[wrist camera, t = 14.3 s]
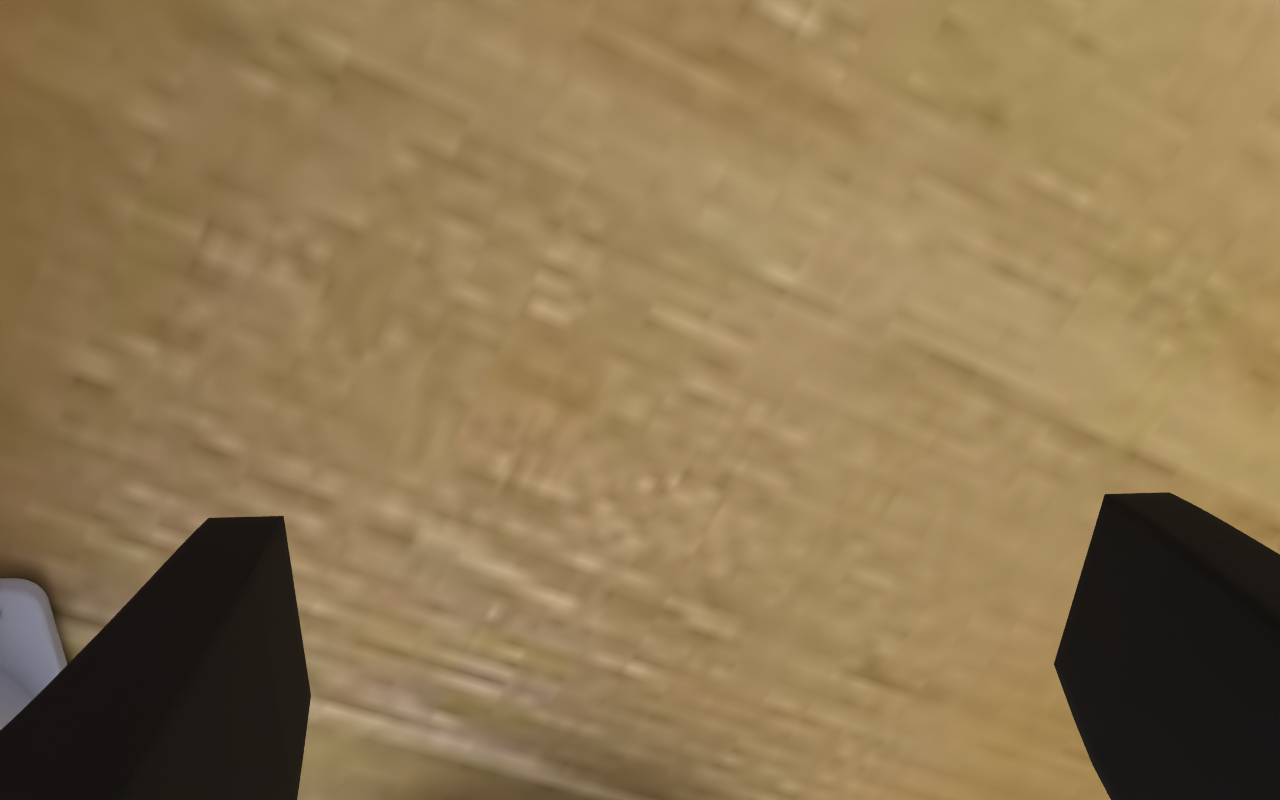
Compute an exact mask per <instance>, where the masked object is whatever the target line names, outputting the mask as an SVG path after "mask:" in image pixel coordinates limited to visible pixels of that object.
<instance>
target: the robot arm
mask: <svg viewBox="0 0 1280 800" xmlns="http://www.w3.org/2000/svg"><path fill="white" fill-rule="evenodd" d="M1054 666H1055V668H1056V671H1057V674H1058V677H1059V679H1060V682H1061V685H1062V687H1063V690H1064V693H1065V696H1066V698H1067V701H1068V704H1069V707H1070V709H1071V712H1072V715H1073V718H1074V720H1075V723H1076V725H1077V728H1078V730H1079V732H1080V735H1081V737H1082V740H1083V742H1084V745H1085V747H1086V750H1087V752H1088V754H1089V757H1090V759H1091V762H1092V764H1093V766H1094V768H1095V770H1096V772H1097V774H1098V776H1099V778H1100V780H1101V782H1102V784H1103V785H1104V787H1105V789H1106V791H1107V793H1108V795H1109V797H1110V798H1111V800H1280V555H1279V554H1278V553H1276V552H1274V551H1273V550H1271V549H1269V548H1268V547H1266V546H1264V545H1263V544H1261V543H1259V542H1258V541H1256V540H1254V539H1253V538H1251V537H1249V536H1248V535H1246V534H1244V533H1243V532H1241V531H1239V530H1237V529H1236V528H1234V527H1232V526H1231V525H1229V524H1227V523H1226V522H1224V521H1222V520H1220V519H1219V518H1217V517H1215V516H1213V515H1211V514H1210V513H1208V512H1206V511H1204V510H1202V509H1201V508H1199V507H1197V506H1195V505H1193V504H1191V503H1189V502H1187V501H1185V500H1183V499H1181V498H1179V497H1177V496H1175V495H1173V494H1171V493H1133V494H1105V496H1104V499H1103V502H1102V506H1101V509H1100V512H1099V516H1098V519H1097V522H1096V526H1095V529H1094V532H1093V536H1092V539H1091V542H1090V546H1089V549H1088V552H1087V556H1086V559H1085V562H1084V566H1083V569H1082V572H1081V576H1080V579H1079V582H1078V586H1077V589H1076V592H1075V596H1074V599H1073V602H1072V606H1071V609H1070V612H1069V616H1068V619H1067V622H1066V626H1065V629H1064V632H1063V636H1062V639H1061V642H1060V646H1059V649H1058V652H1057V656H1056V659H1055V662H1054ZM310 698H311V694H310V687H309V681H308V674H307V667H306V661H305V654H304V648H303V641H302V635H301V628H300V621H299V615H298V608H297V602H296V595H295V589H294V582H293V575H292V569H291V562H290V556H289V549H288V543H287V536H286V529H285V523H284V516H267V517H230V518H208V519H207V520H206V521H205V522H204V523H203V524H202V525H201V526H200V527H199V528H198V529H197V530H196V531H195V532H194V533H193V534H192V535H191V536H190V537H189V538H188V539H187V540H186V541H185V542H184V543H183V544H182V545H181V546H180V547H179V548H178V549H177V550H176V552H175V553H174V554H173V555H172V556H171V557H170V558H169V559H168V560H167V561H166V562H165V563H164V564H163V565H162V567H161V568H160V569H159V570H158V571H157V572H156V573H155V574H154V575H153V576H152V577H151V578H150V579H149V581H148V582H147V583H146V584H145V585H144V586H143V587H142V588H141V589H140V590H139V591H138V592H137V593H136V594H135V595H134V597H133V598H132V599H131V600H130V601H129V602H128V603H127V604H126V605H125V606H124V607H123V608H122V609H121V610H120V611H119V612H118V613H117V614H116V616H115V617H114V618H113V619H112V620H111V621H110V622H109V623H108V624H107V625H106V626H105V627H104V628H103V629H102V630H101V631H100V632H99V633H98V634H97V635H96V636H95V637H94V638H93V639H92V640H91V641H90V642H89V643H88V644H87V645H86V647H85V648H84V649H83V650H82V651H81V652H80V653H79V654H78V655H77V656H76V657H75V658H74V659H73V660H72V661H71V662H70V663H69V664H68V665H67V661H66V658H65V654H64V651H63V647H62V644H61V640H60V637H59V634H58V630H57V627H56V623H55V620H54V616H53V613H52V609H51V606H50V602H49V599H48V597H47V595H46V593H45V591H44V590H43V589H42V588H41V587H39V586H38V585H37V584H36V583H33V582H31V581H28V580H26V579H18V578H0V800H297V796H298V789H299V782H300V775H301V768H302V761H303V753H304V746H305V738H306V730H307V722H308V714H309V706H310Z"/></svg>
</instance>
